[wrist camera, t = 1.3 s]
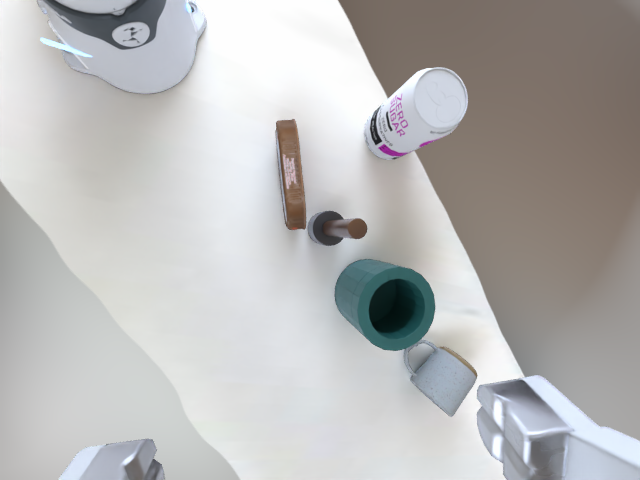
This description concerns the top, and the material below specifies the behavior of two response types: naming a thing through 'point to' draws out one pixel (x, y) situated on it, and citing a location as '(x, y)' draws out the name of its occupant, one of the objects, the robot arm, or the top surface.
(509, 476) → the robot arm
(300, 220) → the tin
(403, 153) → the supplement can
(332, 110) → the top surface
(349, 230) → the dish brush
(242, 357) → the top surface
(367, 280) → the teal pen holder
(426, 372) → the ceramic mug
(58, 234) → the top surface
